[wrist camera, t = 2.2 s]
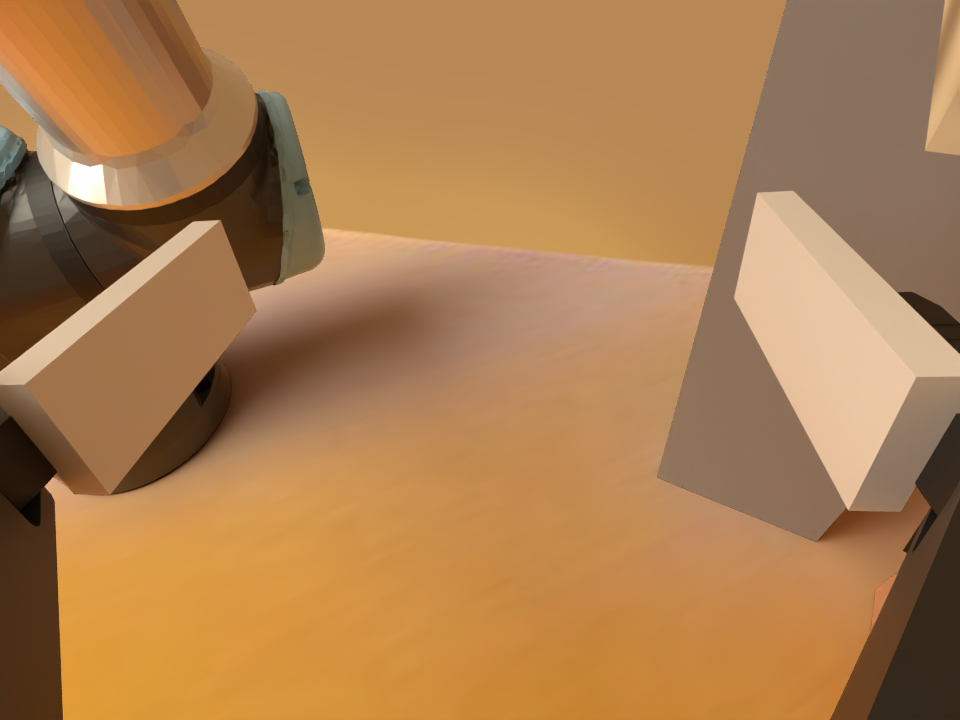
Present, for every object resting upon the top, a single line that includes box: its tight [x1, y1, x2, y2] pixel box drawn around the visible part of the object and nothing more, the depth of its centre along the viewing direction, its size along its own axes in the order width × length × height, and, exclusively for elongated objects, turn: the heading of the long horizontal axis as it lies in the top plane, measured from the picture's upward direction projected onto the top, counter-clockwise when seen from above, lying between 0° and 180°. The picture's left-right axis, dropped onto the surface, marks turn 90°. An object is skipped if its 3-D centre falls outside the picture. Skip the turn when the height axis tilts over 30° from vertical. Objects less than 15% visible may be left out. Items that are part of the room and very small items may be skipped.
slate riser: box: [657, 0, 960, 542], centre depth 29 cm, size 16×10×30 cm, turn 150°
